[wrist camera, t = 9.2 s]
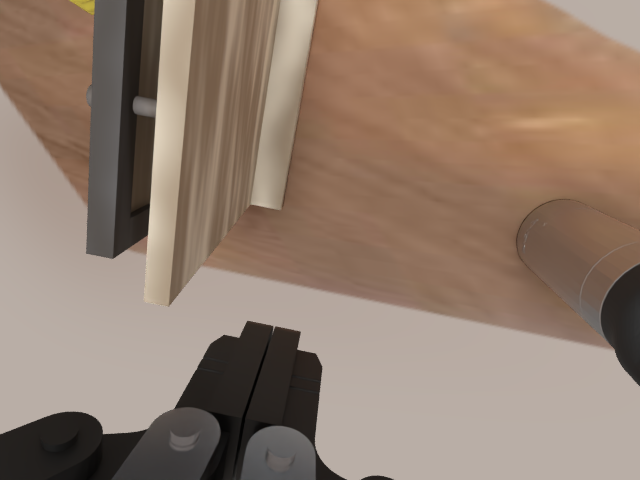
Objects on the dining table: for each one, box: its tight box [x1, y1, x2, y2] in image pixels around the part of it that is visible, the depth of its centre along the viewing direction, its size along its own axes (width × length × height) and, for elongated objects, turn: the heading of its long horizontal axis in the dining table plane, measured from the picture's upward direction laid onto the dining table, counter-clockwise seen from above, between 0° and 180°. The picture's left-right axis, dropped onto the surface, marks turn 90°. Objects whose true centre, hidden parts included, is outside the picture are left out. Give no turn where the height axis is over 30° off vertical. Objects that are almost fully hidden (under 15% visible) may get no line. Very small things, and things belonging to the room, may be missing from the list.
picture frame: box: [86, 0, 163, 259], centre depth 30 cm, size 2×18×14 cm, turn 169°
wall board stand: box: [133, 0, 318, 306], centre depth 34 cm, size 12×22×26 cm, turn 169°
